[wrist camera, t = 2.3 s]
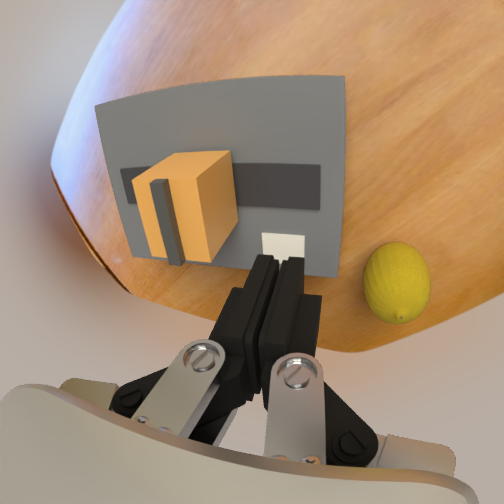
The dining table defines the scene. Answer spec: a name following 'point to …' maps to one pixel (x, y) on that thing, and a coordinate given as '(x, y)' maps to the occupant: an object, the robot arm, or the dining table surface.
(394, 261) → the lemon
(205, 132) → the switch panel
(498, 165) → the dining table surface
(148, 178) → the orange block
